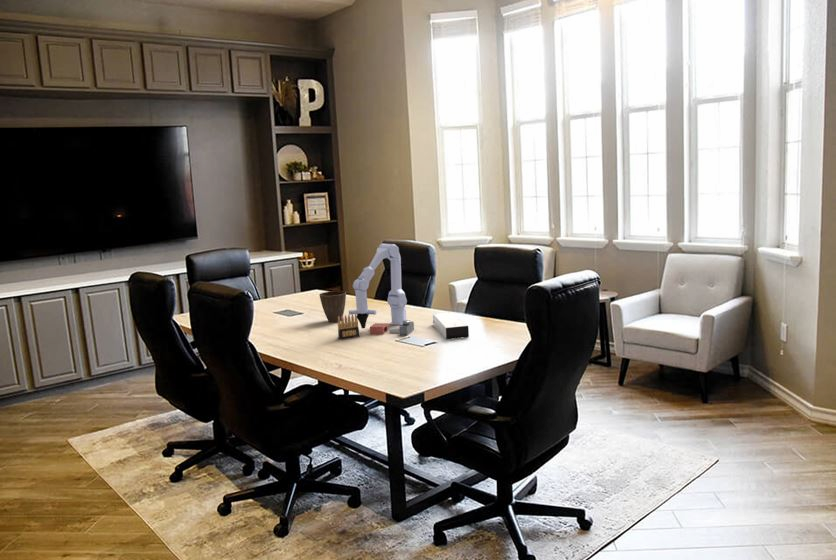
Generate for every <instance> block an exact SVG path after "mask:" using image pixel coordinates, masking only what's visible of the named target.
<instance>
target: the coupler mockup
mask: <svg viewBox="0 0 836 560" xmlns="http://www.w3.org/2000/svg"><path fill="white" fill-rule="evenodd" d="M402 322H403V324H402V325H399V327H398V328H395V327H394V328H393V327H392V328H388V331H389V333H390V334H399V336H403V337H404V336H409V335H410V334H411V333H413V331H414V330H415V323H414V321H411V320H408V319H406V320H405V321H402Z"/></svg>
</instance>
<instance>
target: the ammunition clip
mask: <svg viewBox="0 0 836 560" xmlns="http://www.w3.org/2000/svg"><path fill="white" fill-rule="evenodd" d="M337 335H338V336H337V337H338V340H347V339H353V338H360V336H361V335H360V329H359V320H358V318H357V314H351V316H350V315H349V314H348V316H347V315H346V314H345V315H343V316H342V317H341V321H340V317H339V316H338V322H337Z"/></svg>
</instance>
